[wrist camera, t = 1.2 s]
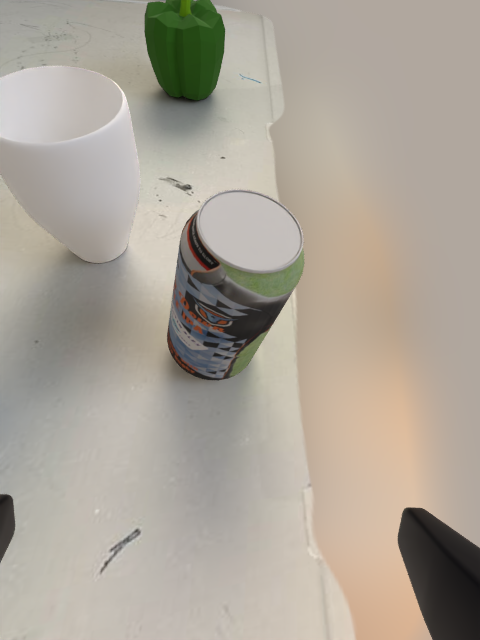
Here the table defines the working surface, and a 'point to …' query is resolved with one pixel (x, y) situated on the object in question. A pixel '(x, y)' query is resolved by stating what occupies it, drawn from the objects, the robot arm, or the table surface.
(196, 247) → the beverage can
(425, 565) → the robot arm
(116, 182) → the mug
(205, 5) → the bell pepper
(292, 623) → the table surface
